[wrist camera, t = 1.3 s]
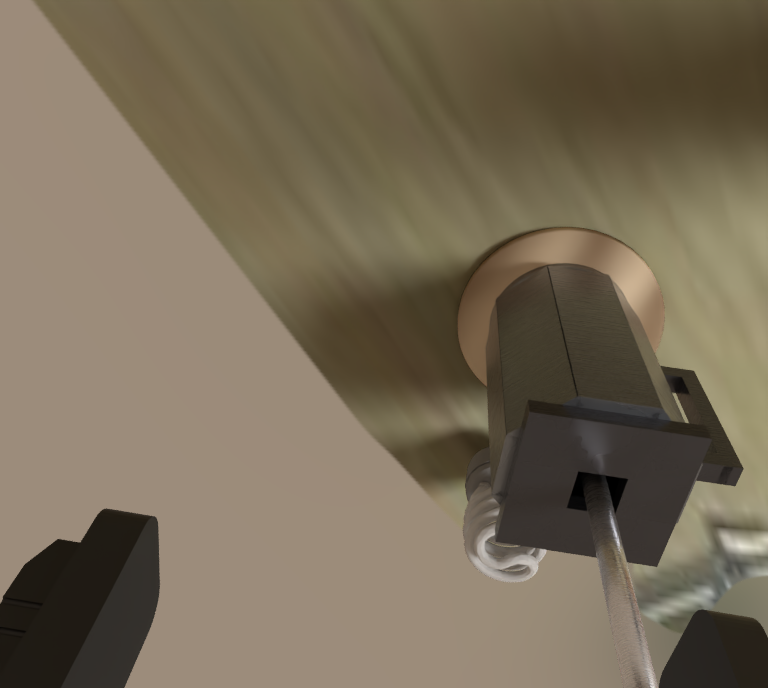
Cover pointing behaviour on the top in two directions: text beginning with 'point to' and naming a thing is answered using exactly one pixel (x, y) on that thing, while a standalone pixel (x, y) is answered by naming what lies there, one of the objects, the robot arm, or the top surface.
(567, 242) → the disc
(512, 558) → the light bulb
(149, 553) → the robot arm
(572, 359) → the carafe
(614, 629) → the plunger
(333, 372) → the top surface
